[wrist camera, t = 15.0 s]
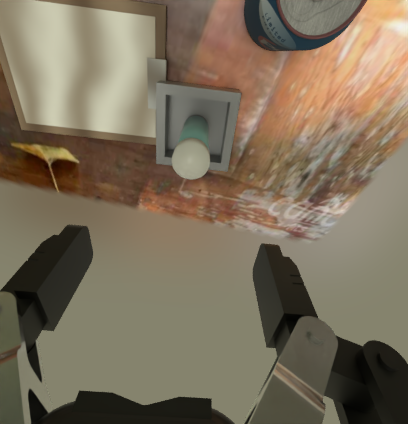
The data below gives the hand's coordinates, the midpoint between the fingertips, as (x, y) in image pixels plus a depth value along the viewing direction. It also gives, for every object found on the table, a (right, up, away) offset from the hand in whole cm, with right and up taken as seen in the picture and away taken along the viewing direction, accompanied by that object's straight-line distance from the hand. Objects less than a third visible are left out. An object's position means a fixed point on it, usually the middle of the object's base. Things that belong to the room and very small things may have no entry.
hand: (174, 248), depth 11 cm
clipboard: (-12, +17, +16) cm, 27 cm away
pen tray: (0, +13, +19) cm, 23 cm away
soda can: (+9, +22, +13) cm, 27 cm away
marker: (0, +12, +18) cm, 22 cm away
